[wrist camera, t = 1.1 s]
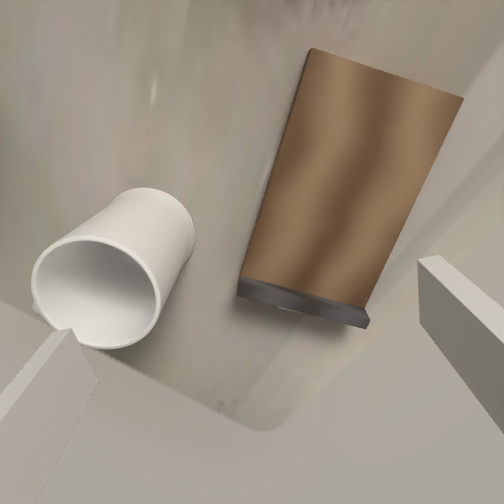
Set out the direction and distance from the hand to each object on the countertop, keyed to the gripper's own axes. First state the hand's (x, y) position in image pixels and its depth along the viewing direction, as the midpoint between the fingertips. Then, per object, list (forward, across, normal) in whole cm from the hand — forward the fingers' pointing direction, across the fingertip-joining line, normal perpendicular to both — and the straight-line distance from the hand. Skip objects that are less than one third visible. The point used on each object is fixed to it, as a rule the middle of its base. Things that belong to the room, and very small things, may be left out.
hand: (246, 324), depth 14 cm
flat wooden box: (+20, +8, -2) cm, 21 cm away
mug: (+20, -11, -2) cm, 23 cm away
